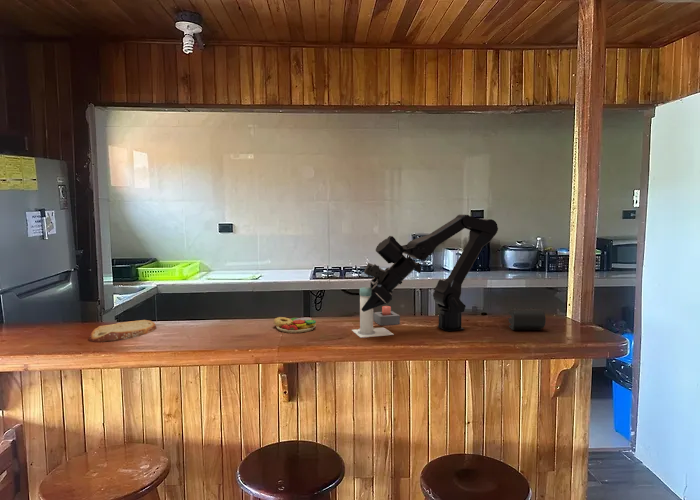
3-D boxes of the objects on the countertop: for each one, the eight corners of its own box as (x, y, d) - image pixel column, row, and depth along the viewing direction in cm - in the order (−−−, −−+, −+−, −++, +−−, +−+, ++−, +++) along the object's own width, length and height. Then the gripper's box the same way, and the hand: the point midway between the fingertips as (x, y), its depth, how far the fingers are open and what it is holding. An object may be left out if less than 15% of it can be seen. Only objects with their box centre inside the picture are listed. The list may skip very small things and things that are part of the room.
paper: (383, 327, 163) (383, 326, 163) (393, 334, 155) (393, 333, 155) (351, 330, 160) (351, 329, 160) (360, 337, 152) (360, 336, 152)
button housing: (392, 319, 175) (392, 311, 175) (399, 324, 168) (399, 315, 168) (373, 320, 173) (373, 312, 173) (380, 325, 166) (380, 316, 166)
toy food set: (270, 326, 166) (270, 317, 166) (307, 322, 172) (307, 313, 172) (284, 336, 155) (284, 326, 154) (322, 331, 161) (322, 321, 160)
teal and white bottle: (370, 329, 160) (370, 286, 158) (375, 333, 155) (375, 289, 154) (357, 330, 158) (357, 287, 157) (362, 334, 154) (362, 290, 153)
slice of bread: (158, 326, 168) (157, 315, 168) (150, 340, 151) (150, 328, 150) (100, 329, 164) (99, 318, 163) (85, 344, 146) (85, 332, 146)
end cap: (514, 332, 158) (514, 311, 157) (507, 326, 165) (507, 306, 164) (545, 332, 158) (546, 311, 157) (537, 326, 165) (537, 306, 164)
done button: (388, 316, 172) (388, 305, 172) (392, 318, 169) (392, 307, 169) (380, 317, 171) (380, 306, 171) (383, 319, 168) (383, 307, 168)
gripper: (378, 251, 164) (344, 284, 165) (380, 257, 145) (343, 295, 146) (402, 275, 164) (368, 307, 166) (407, 284, 146) (369, 321, 147)
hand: (362, 307), depth 156 cm, fingers open, 9 cm apart
